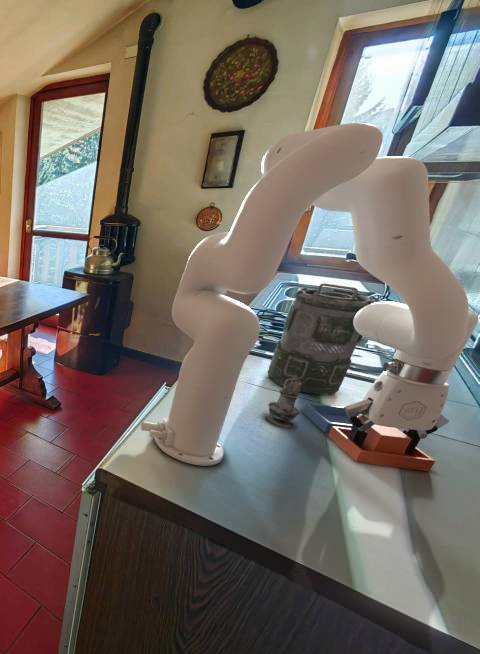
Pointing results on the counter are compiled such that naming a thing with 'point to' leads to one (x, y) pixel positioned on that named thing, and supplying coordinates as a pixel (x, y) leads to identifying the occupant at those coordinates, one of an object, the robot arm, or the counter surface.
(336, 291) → the canister
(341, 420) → the blue tray
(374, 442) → the terracotta block
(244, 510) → the counter surface
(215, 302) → the robot arm
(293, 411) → the dark chess piece
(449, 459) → the counter surface
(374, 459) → the terracotta tray
